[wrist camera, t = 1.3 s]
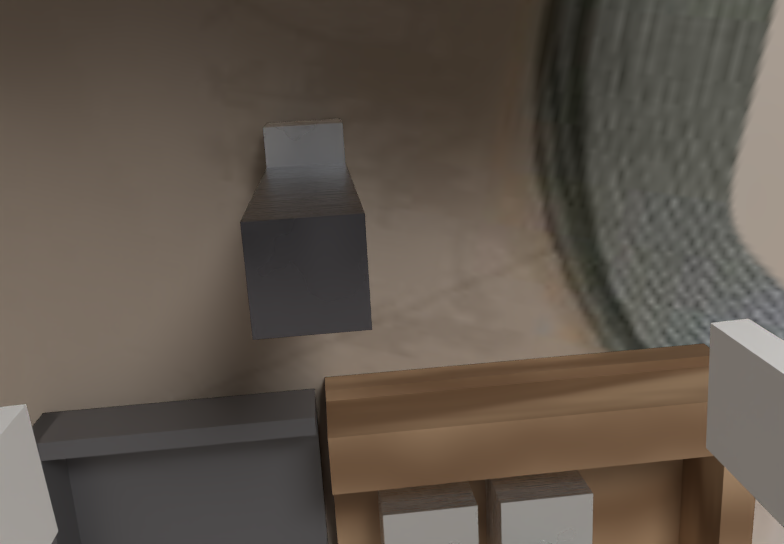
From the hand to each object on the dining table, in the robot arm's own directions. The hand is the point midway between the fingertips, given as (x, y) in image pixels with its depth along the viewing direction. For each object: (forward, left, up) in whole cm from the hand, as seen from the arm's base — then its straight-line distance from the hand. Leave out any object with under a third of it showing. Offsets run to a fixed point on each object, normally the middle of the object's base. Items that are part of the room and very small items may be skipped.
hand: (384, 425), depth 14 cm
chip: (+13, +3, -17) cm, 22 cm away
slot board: (+13, +8, -19) cm, 24 cm away
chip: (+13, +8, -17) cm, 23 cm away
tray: (+13, -8, -19) cm, 24 cm away
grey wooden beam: (-2, -1, -19) cm, 19 cm away
